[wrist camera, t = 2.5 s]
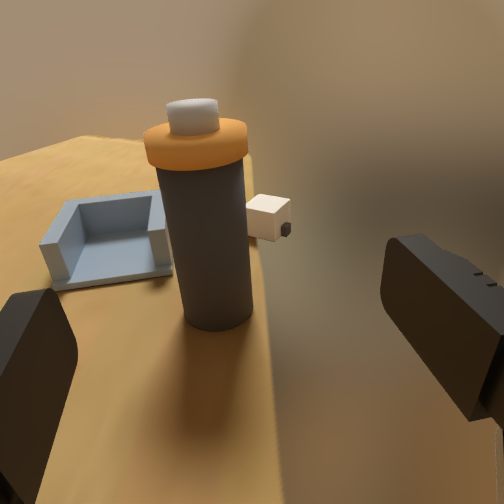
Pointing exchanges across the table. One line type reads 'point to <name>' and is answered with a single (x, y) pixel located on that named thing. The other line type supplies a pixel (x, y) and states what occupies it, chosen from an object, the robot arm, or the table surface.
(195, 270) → the grey and orange bottle
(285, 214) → the routed cable
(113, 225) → the end holder
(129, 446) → the table surface
